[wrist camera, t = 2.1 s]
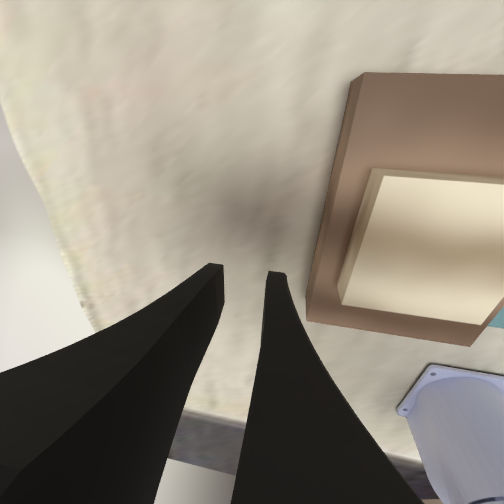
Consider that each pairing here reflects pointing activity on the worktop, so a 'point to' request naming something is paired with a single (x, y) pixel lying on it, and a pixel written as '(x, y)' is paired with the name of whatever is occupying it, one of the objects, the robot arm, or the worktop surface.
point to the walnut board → (403, 158)
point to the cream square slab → (427, 246)
